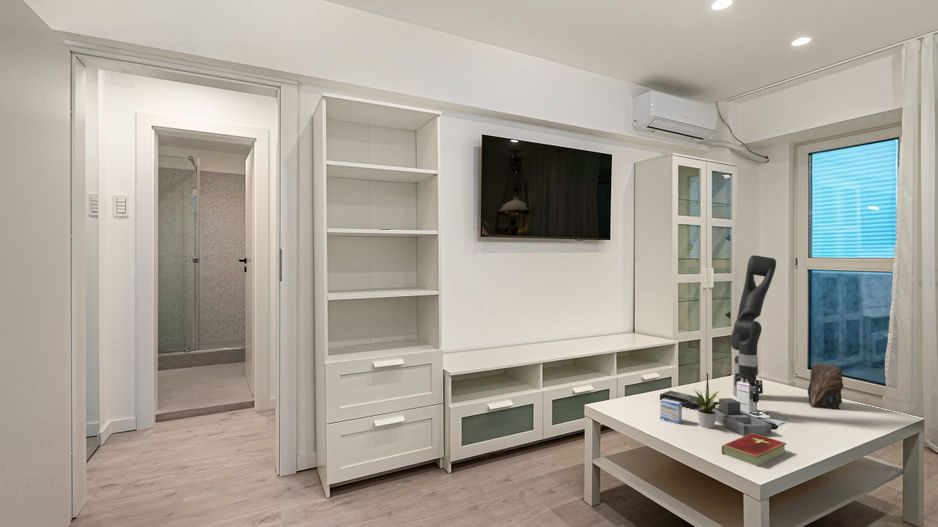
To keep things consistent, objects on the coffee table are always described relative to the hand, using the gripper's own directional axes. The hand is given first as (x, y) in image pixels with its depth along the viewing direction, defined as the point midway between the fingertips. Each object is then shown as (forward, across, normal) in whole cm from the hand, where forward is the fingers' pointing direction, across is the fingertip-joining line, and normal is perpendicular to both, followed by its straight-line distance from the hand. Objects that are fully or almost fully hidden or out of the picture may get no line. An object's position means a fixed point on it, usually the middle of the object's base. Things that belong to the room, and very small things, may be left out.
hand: (748, 399), depth 203 cm
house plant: (+7, +11, -30) cm, 32 cm away
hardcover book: (+8, +38, -29) cm, 48 cm away
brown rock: (+7, -6, +43) cm, 44 cm away
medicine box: (+7, +3, -40) cm, 40 cm away
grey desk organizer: (+7, +10, -15) cm, 19 cm away
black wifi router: (+7, -17, -20) cm, 27 cm away
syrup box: (+7, 0, 0) cm, 7 cm away
